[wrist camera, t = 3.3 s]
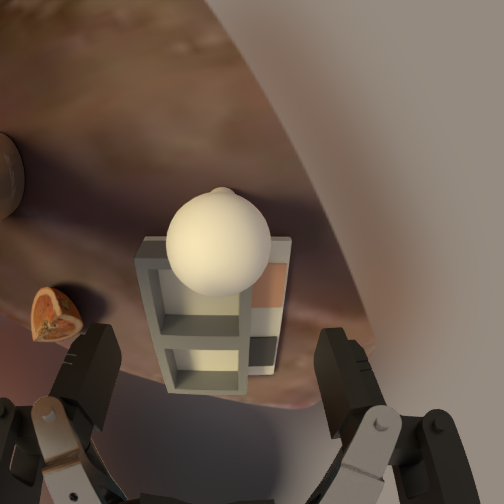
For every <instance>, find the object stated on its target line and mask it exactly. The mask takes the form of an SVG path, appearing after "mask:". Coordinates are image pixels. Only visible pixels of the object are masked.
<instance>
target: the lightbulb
mask: <svg viewBox="0 0 504 504" xmlns="http://www.w3.org/2000/svg"><path fill="white" fill-rule="evenodd" d="M166 250H167V257H168V260H169V262H170V265H171V268H172V270H173V272H174V273H175V275H176V276H177V277H178V278H179V279H180V281H181V282H182V283H184V284H185V285H186V286H187V287H189V288H190V289H191V290H193V291H195V292H197V293H200V294H203V295H206V296H212V297H225V296H231V295H234V294H237V293H240V292H242V291H244V290H245V289H247V288H249V287H250V286H251V285H252V284H254V283H255V282H256V281H257V280H258V279H259V278H260V276H261V275H262V273H263V271H264V270H265V268H266V266H267V264H268V260H269V257H270V252H271V236H270V231H269V228H268V225H267V222H266V220H265V218H264V217H263V215H262V214H261V212H260V211H259V210H258V209H257V208H256V207H255V206H254V205H253V204H252V203H251V202H249V201H248V200H246V199H244V198H243V197H241V196H238V195H236V194H235V193H234V192H233V191H232V190H231V189H229V188H226V187H218V188H215V189H213V190H212V191H211V192H210V193H205V194H202V195H199V196H197V197H195V198H193V199H192V200H190V201H189V202H187V203H186V204H184V205H183V206H182V207H181V208H180V209H179V210H178V211H177V213H176V214H175V216H174V217H173V219H172V221H171V223H170V226H169V229H168V231H167V238H166Z"/></svg>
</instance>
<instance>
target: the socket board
mask: <svg viewBox="0 0 504 504" xmlns="http://www.w3.org/2000/svg"><path fill="white" fill-rule="evenodd" d="M166 238H167V236H145V238H144V240H143V242H142V244H141V245H140V247H139V249H138V251H137V253H136V255H135V257H134V262H135V268H136V273H137V278H138V283H139V287H140V292H141V296H142V301H143V305H144V309H145V314H146V318H147V322H148V326H149V330H150V333H151V337H152V341H153V344H154V348H155V352H156V355H157V358H158V362H159V365H160V369H161V372H162V375H163V378H164V381H165V384H166V387H167V390H168V393H179V394H203V395H247V382H248V375H271V374H273V373H274V366H275V360H276V354H277V347H278V341H279V334H280V327H281V320H282V313H283V306H284V299H285V291H286V284H287V276H288V268H289V260H290V252H291V244H292V240H291V238H290V237H271V252H270V257H269V260H268V264H267V266H266V268H265V270H264V271H263V273H262V275H261V276H260V278H259V279H258V280H257V281H256V282H255V283H254V284H252V285H251V286H250V287H249V288H247V289H245V290H244V291H242V292H240V293H237V294H234V295H231V296H225V297H212V296H206V295H203V294H200V293H197V292H195V291H193V290H191V289H190V288H189V287H187V286H186V285H185V284H184V283H182V282H181V281H180V279H179V278H178V277H177V276H176V275H175V273H174V272H173V270H172V268H171V265H170V262H169V260H168V257H167V250H166Z"/></svg>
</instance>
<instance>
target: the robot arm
mask: <svg viewBox="0 0 504 504" xmlns="http://www.w3.org/2000/svg"><path fill="white" fill-rule="evenodd" d="M24 181H25V178H24V168H23V164H22V159H21V157H20V154H19V151H18V149H17V148H16V146H15V144H14V143H13V142H12V140H11V139H10V138H9V137H7V136H6V135H5V134H2V133H0V222H1V221H2V220H3V219H5V218H6V217H7V216H9V215H10V214H11V213H12V212H13V211H15V210H16V209H17V207H18V205H19V204H20V202H21V199H22V196H23V191H24ZM121 359H122V356H121V350H120V347H119V345H118V342H117V339H116V337H115V334H114V331H113V328H112V326H111V325H110V324H101V323H91V325H90V326H89V328H88V330H87V332H86V334H85V335H82V334H81V335H80V336H79V337H78V338H77V339H76V340H75V341H74V342H73V343H72V344H71V346H70V349H69V351H68V353H67V355H66V357H65V359H64V364H62V366H61V368H60V371H59V373H58V375H57V378H56V380H55V383H54V385H53V387H52V389H51V392H50V394H49V395H48V396H45V397H42V398H40V399H39V400H37V401H36V403H35V404H34V405H33V406H15V405H14V404H13V403H12V402H11V401H10V400H9V399H7V398H0V504H39V502H40V495H41V488H42V482H43V477H44V480H45V482H46V485H47V487H48V489H49V492H50V494H51V497H52V499H53V501H54V503H55V504H190V503H187V502H184V501H181V500H177V499H175V498H171V497H163V496H156V495H150V494H144V493H141V494H140V498H136V499H131V500H128V499H127V498H126V496H125V494H124V493H123V491H122V490H121V489H120V487H119V486H118V485H117V484H116V483H115V481H114V480H113V479H112V477H111V476H110V474H109V472H108V470H107V468H106V467H105V465H104V463H103V461H102V459H101V457H100V455H99V453H98V451H97V449H96V447H95V445H94V443H93V441H92V439H91V434H92V430H93V431H98V432H102V430H103V426H104V422H105V419H106V415H107V411H108V407H109V403H110V400H111V396H112V393H113V389H114V386H115V382H116V379H117V376H118V372H119V369H120V366H121ZM314 369H315V373H316V377H317V381H318V385H319V389H320V393H321V397H322V401H323V405H324V409H325V414H326V418H327V422H328V426H329V431H330V435H331V439H336V438H341V441H342V446H341V448H340V450H339V451H338V453H337V455H336V457H335V459H334V460H333V462H332V464H331V466H330V467H329V469H328V471H327V473H326V474H325V476H324V477H323V479H322V481H321V482H320V484H319V485H318V486H317V488H316V489H315V490H314V492H313V493H312V494H311V496H310V497H309V499H308V500H307V501H306V503H305V504H376V502H377V500H378V498H379V496H380V493H381V491H382V489H383V486H384V480H383V474H384V471H385V469H386V467H387V465H392V468H393V473H394V477H395V481H396V486H397V491H398V496H399V501H400V504H480V500H479V496H478V492H477V489H476V485H475V482H474V479H473V475H472V472H471V468H470V465H469V462H468V459H467V456H466V453H465V450H464V447H463V445H462V442H461V439H460V436H459V434H458V431H457V428H456V426H455V423H454V421H453V419H452V417H451V416H450V415H449V414H448V413H447V412H446V411H444V410H440V409H434V410H431V411H429V412H428V413H427V414H426V415H425V416H424V417H413V416H402V415H399V414H398V413H397V412H396V411H395V410H394V409H393V408H391V407H388V406H387V405H386V403H385V401H384V398H383V395H382V394H381V390H380V388H379V385H378V383H377V380H376V378H375V375H374V373H373V371H372V368H371V365H370V363H369V362H368V358H367V356H366V353H365V351H364V349H363V348H362V347H361V346H360V345H359V344H358V343H357V342H356V341H355V340H348V339H347V337H346V334H345V332H344V330H343V328H341V327H340V328H324V329H322V330H321V333H320V336H319V340H318V343H317V347H316V350H315V354H314ZM15 445H16V449H15V453H14V457H13V461H12V465H11V470H10V469H9V467H10V462H11V458H12V454H13V450H14V446H15ZM230 504H274V500H273V499H272V500H257V501H238V502H234V503H230Z"/></svg>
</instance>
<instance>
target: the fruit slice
mask: <svg viewBox="0 0 504 504" xmlns="http://www.w3.org/2000/svg"><path fill="white" fill-rule="evenodd" d="M82 328H83V322H82V318H81V316H80V314H79V311H78V310H77V308H76V306H75V305H74V303H73V302H72V301H71V300H70V299H69V298H68V297H67V296H66V295H65V294H64V293H62V292H61V291H59V290H57V289H55V288H52V287H44V288H41V289H40V290H39V291H38V292H37V294H36V295H35V298H34V301H33V305H32V310H31V332H32V337H33V341H35V342H56V341H62V340H65V339H68V338H70V337H73V336H74V335H76V334H77V333H79V332H80V331H81V330H82Z"/></svg>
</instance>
